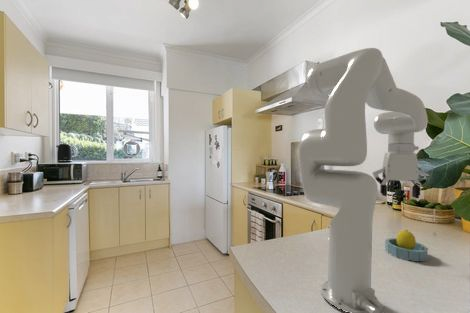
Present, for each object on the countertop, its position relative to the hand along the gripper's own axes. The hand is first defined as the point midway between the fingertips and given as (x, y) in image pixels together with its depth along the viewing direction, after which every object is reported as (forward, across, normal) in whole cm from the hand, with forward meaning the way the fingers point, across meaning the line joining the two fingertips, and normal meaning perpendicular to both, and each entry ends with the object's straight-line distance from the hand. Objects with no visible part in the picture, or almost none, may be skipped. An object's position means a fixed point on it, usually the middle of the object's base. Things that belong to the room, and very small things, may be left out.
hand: (399, 196), depth 81 cm
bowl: (+21, -3, -1) cm, 21 cm away
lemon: (+20, -3, -1) cm, 20 cm away
